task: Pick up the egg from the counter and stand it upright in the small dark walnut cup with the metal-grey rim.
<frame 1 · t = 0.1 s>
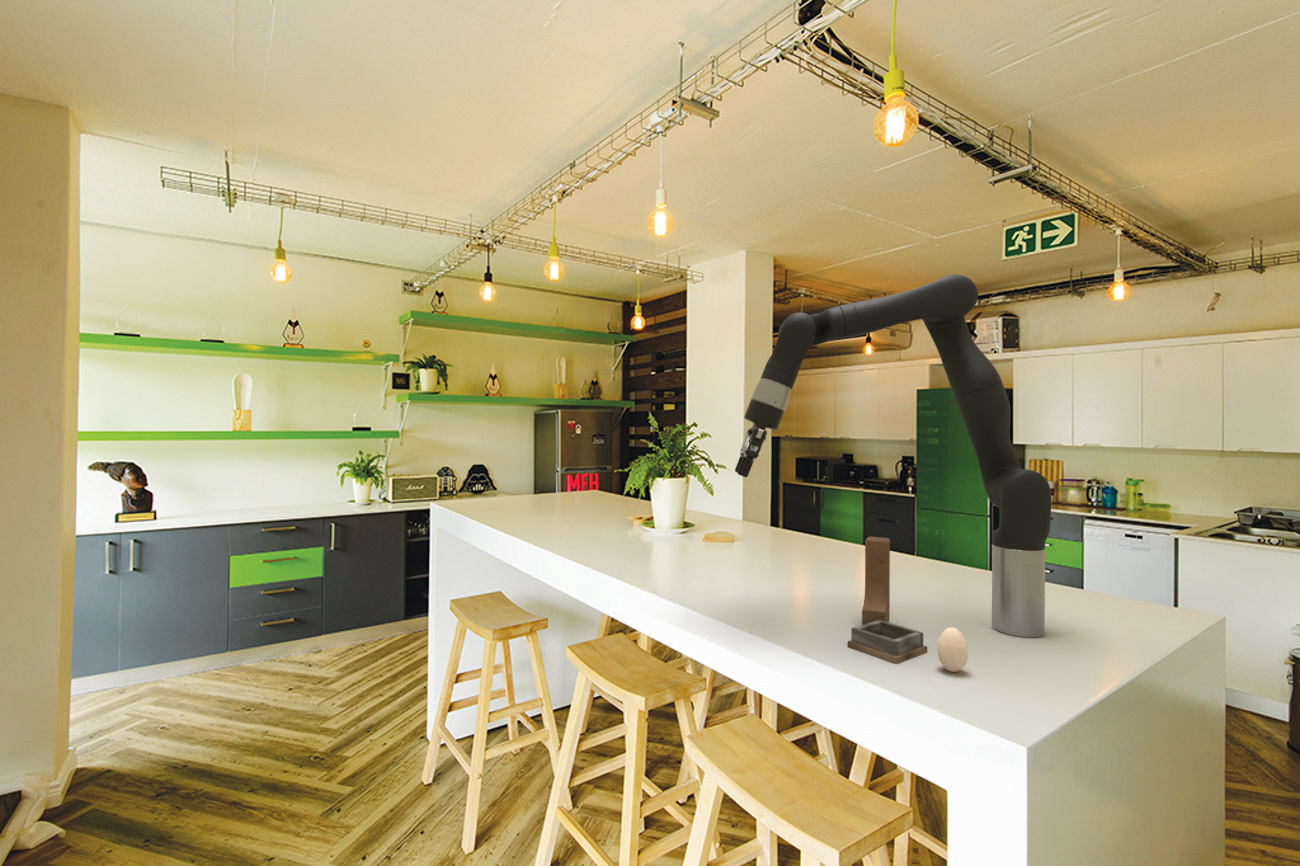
hand: (740, 474, 125), 31 cm above the countertop, fingers open, 8 cm apart
holder: (886, 649, 109), on the countertop
wooden block: (875, 627, 122), on the countertop
egg: (952, 672, 99), on the countertop
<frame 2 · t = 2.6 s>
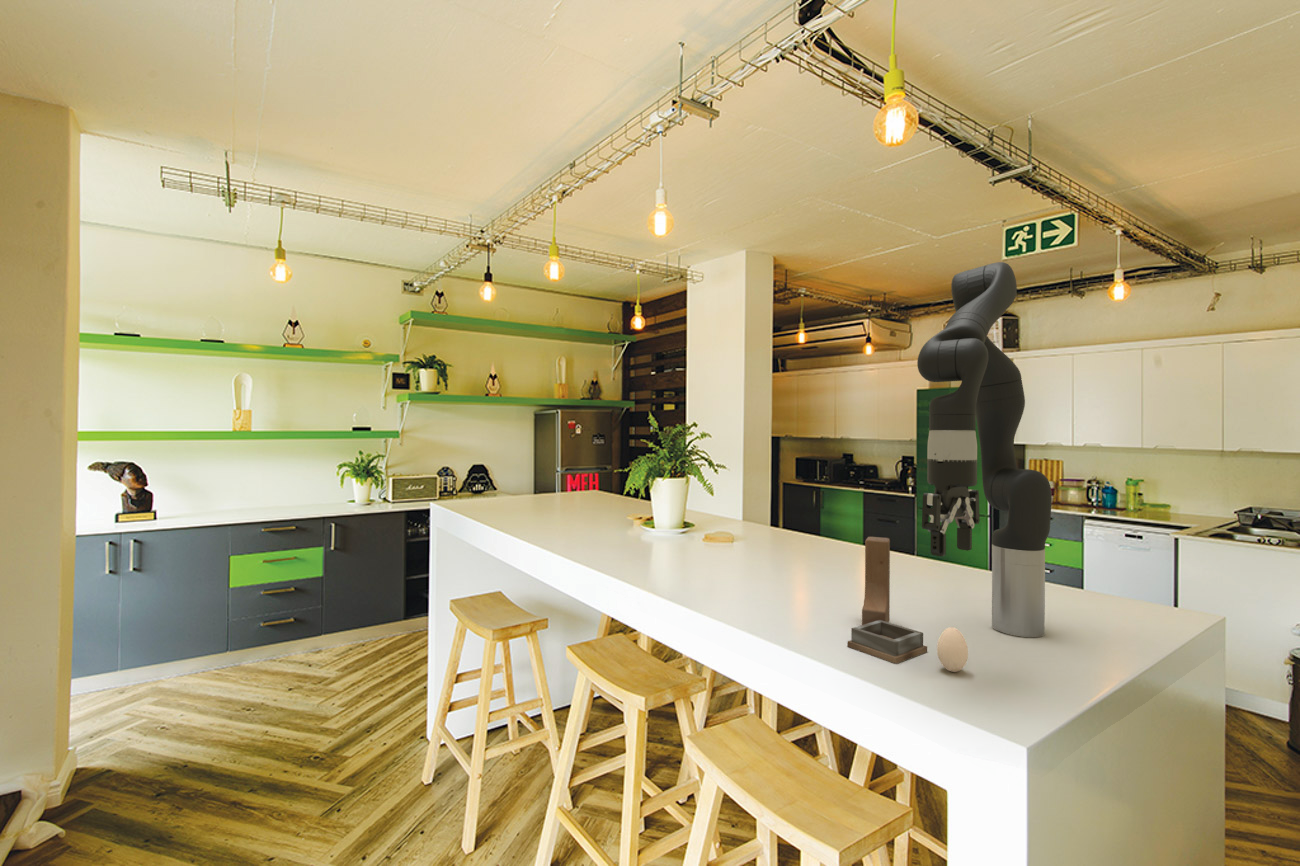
hand: (951, 552, 99), 20 cm above the countertop, fingers open, 8 cm apart
nothing on the countertop moved.
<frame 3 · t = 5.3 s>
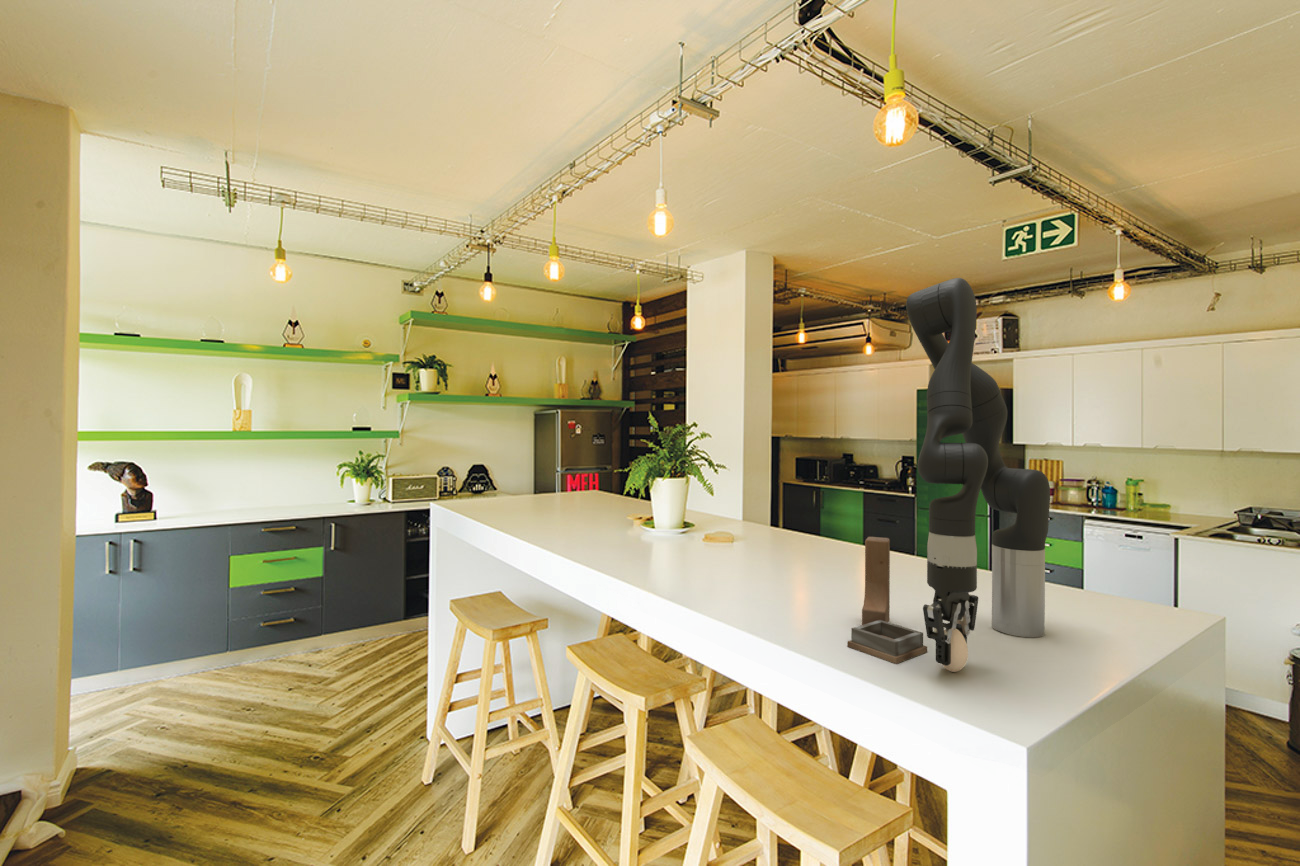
hand: (951, 659, 99), 2 cm above the countertop, fingers closed on egg, 4 cm apart
egg: (952, 672, 99), on the countertop, touching gripper
everything else where it was.
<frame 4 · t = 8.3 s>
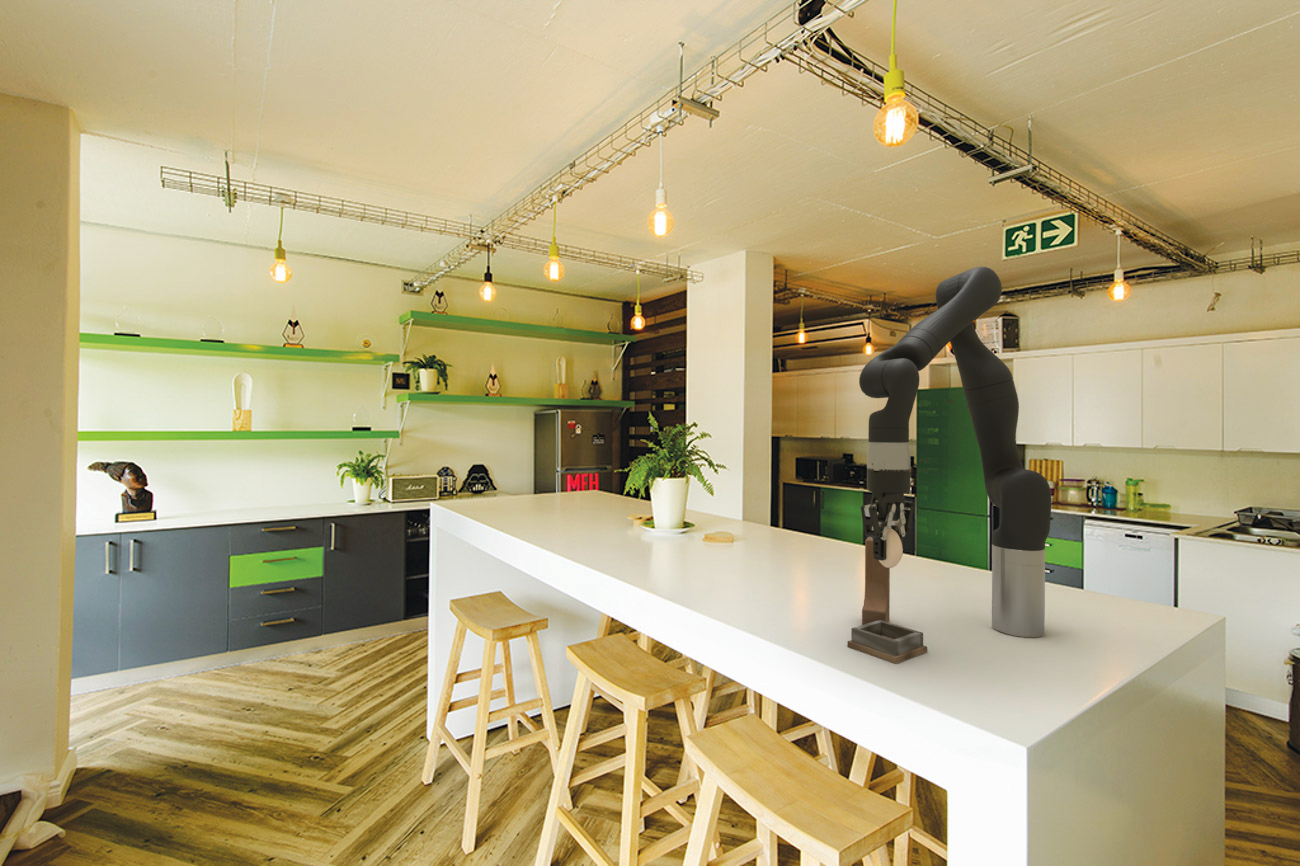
hand: (888, 557, 109), 17 cm above the countertop, fingers closed on egg, 4 cm apart
egg: (888, 568, 109), point 15 cm above the countertop, touching gripper
everything else where it was.
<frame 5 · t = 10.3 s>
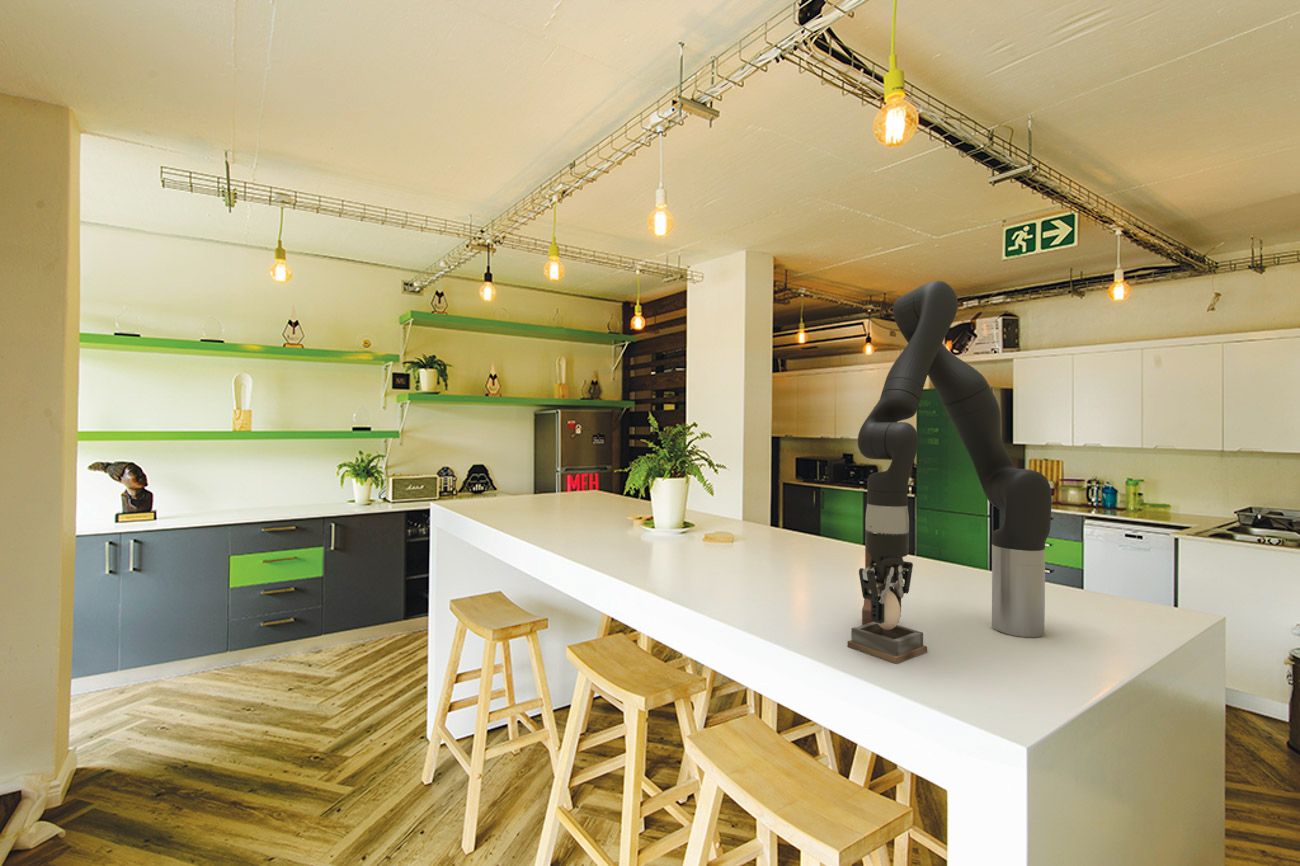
hand: (886, 619, 109), 6 cm above the countertop, fingers closed on egg, 4 cm apart
egg: (886, 630, 109), point 3 cm above the countertop, touching gripper
everything else where it was.
when the fingers open (4 cm above the countertop, at t = 11.5 s): egg drops 1 cm, resting on holder.
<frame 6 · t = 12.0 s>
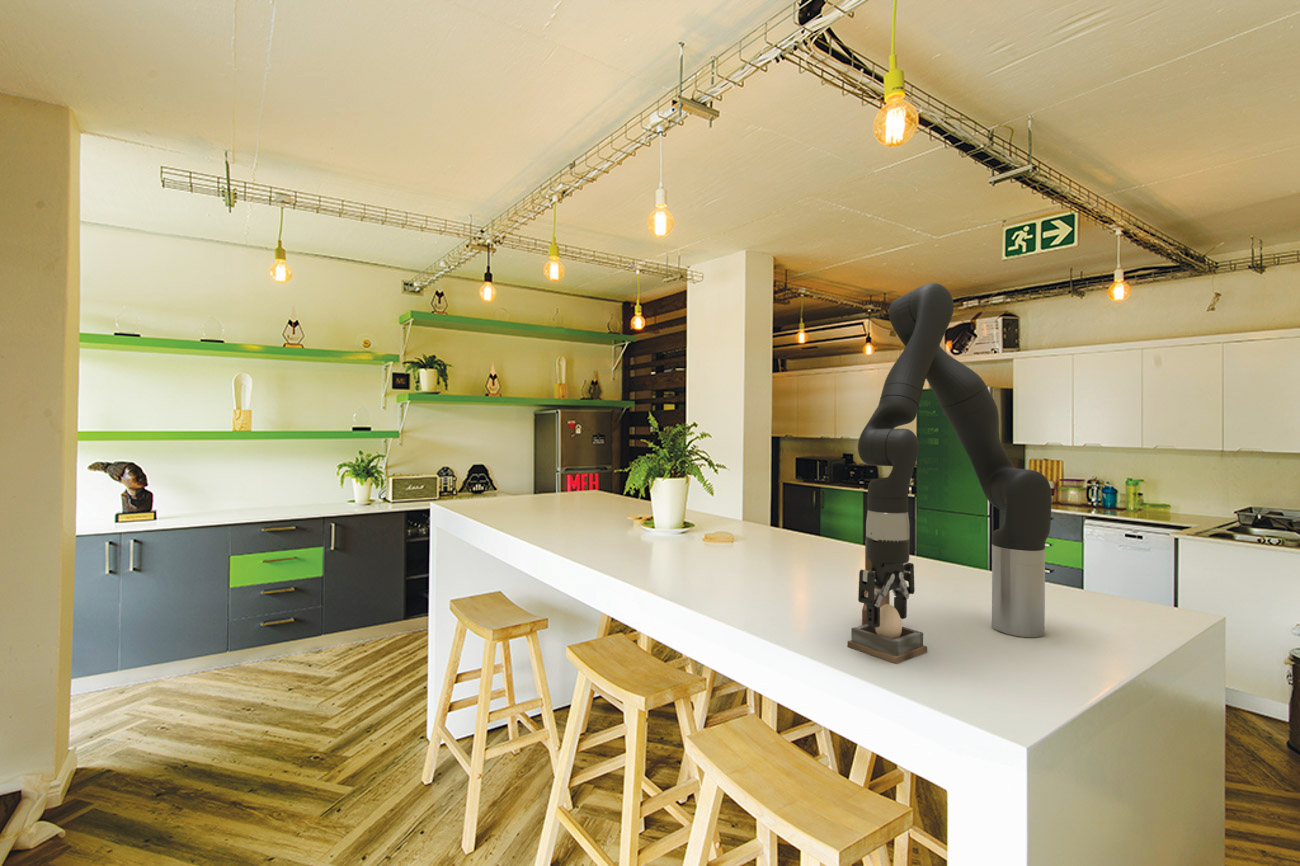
hand: (887, 621, 109), 5 cm above the countertop, fingers open, 8 cm apart
egg: (888, 644, 109), point 1 cm above the countertop, touching holder
everything else where it was.
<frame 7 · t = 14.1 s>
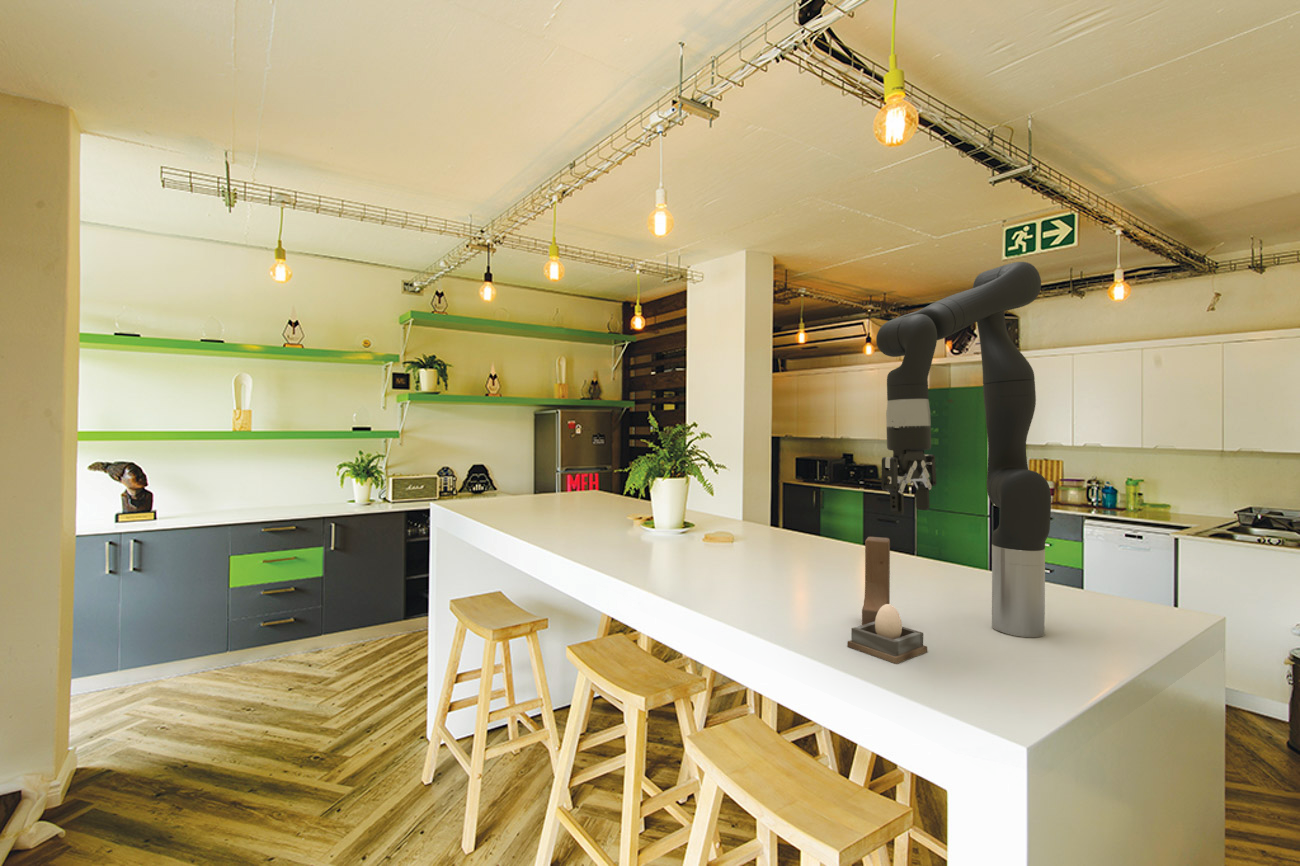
hand: (910, 511, 108), 26 cm above the countertop, fingers open, 8 cm apart
nothing on the countertop moved.
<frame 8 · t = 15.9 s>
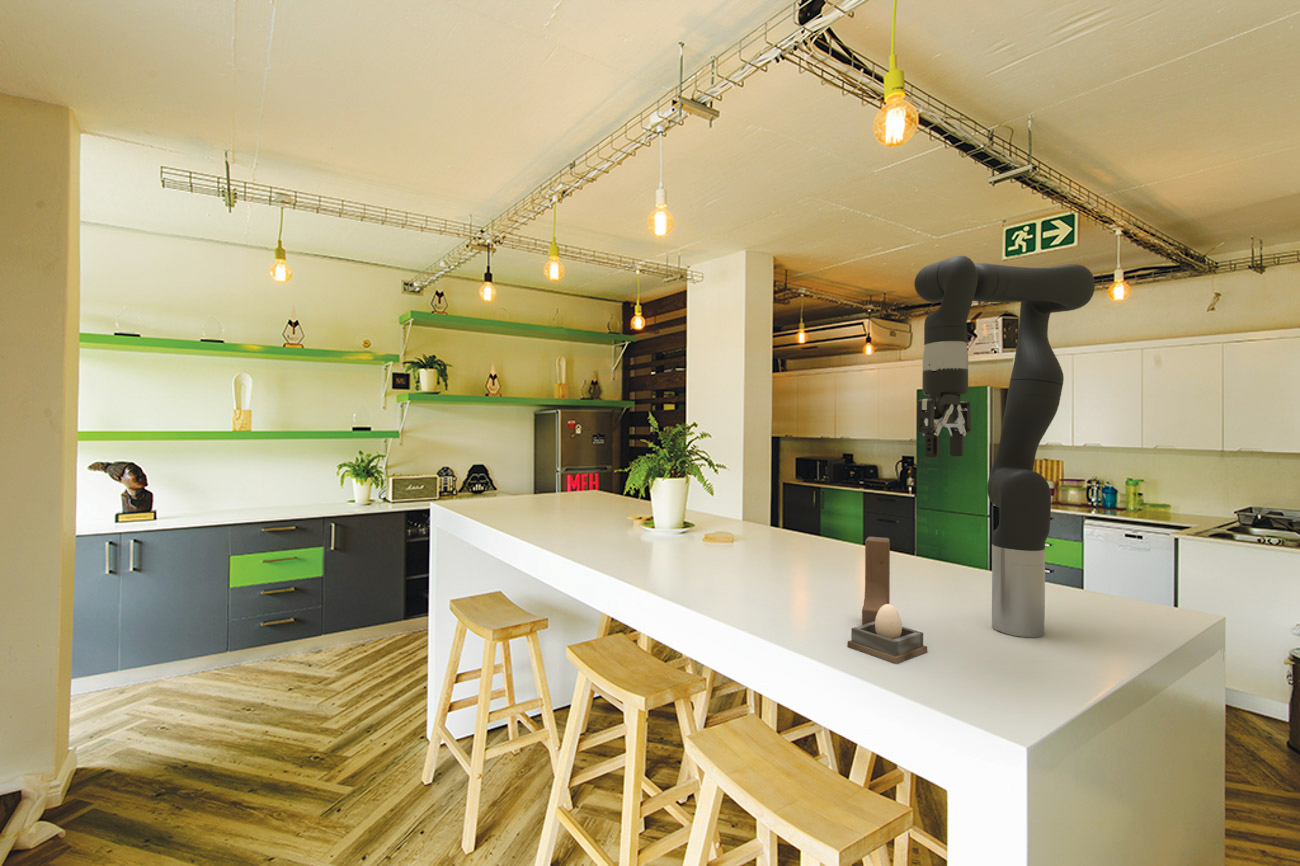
hand: (944, 456, 107), 36 cm above the countertop, fingers open, 8 cm apart
nothing on the countertop moved.
at the end: egg 0.2 cm off-centre on the holder, point 0.8 cm above the holder's base; egg touching holder; the gripper is holding nothing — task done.
